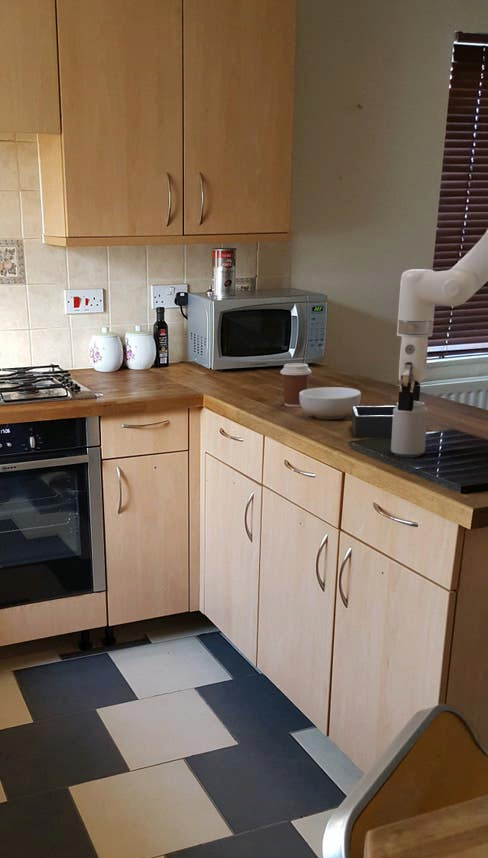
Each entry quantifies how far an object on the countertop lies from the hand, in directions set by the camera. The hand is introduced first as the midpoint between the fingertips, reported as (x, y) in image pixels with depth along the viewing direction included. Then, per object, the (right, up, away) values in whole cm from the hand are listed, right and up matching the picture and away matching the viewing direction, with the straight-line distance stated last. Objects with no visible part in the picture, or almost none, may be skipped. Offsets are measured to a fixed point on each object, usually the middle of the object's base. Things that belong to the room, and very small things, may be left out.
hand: (408, 406), depth 197 cm
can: (+1, -11, +4) cm, 11 cm away
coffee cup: (-16, +11, +67) cm, 69 cm away
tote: (0, -2, +26) cm, 26 cm away
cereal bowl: (-9, +4, +47) cm, 48 cm away
